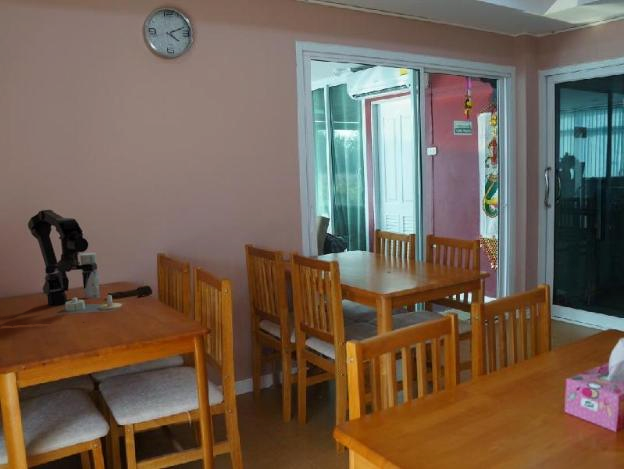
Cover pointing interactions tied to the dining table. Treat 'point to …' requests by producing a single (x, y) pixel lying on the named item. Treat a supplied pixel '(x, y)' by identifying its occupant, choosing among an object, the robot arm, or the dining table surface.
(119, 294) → the hand tool
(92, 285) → the spray can
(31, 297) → the dining table surface
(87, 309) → the rod board
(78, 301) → the ring
